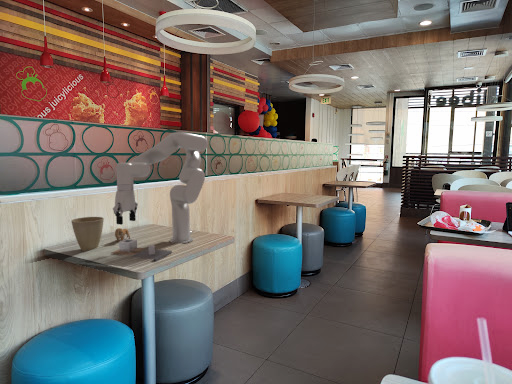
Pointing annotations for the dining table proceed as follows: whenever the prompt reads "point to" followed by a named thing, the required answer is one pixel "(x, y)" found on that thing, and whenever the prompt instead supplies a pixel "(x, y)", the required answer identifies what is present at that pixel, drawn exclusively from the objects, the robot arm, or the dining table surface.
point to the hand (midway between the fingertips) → (126, 222)
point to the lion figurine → (121, 234)
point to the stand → (128, 253)
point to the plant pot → (88, 231)
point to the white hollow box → (128, 245)
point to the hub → (152, 253)
